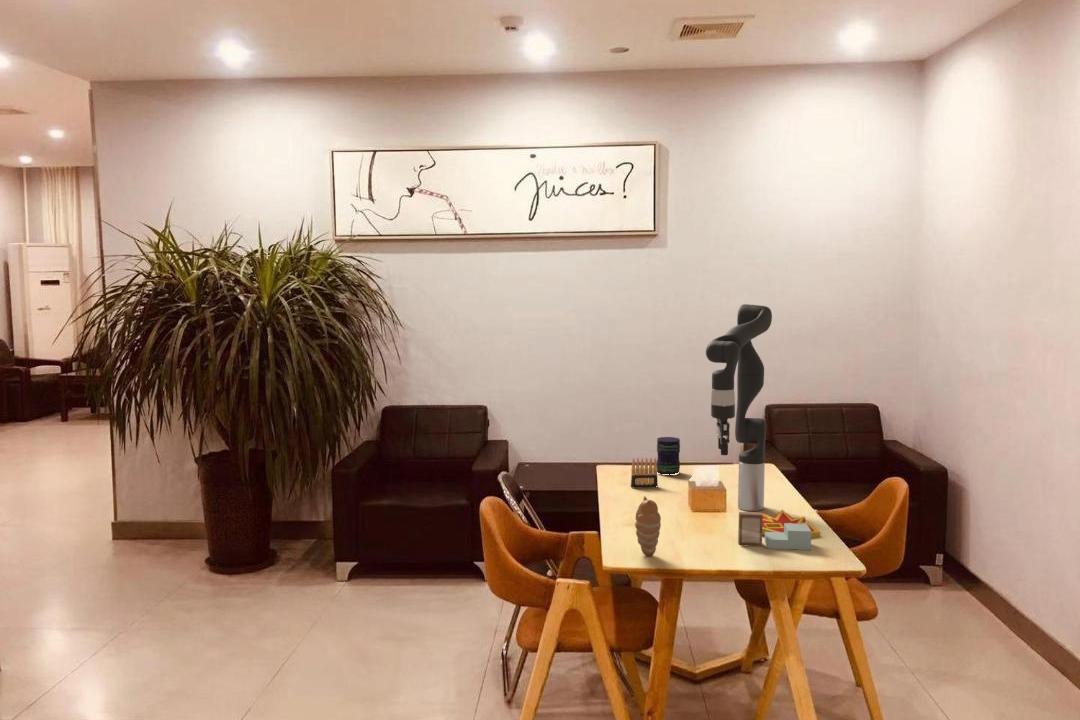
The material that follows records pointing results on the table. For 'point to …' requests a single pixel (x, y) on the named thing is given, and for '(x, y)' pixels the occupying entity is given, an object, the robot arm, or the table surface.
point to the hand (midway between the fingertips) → (723, 451)
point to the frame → (750, 528)
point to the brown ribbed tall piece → (648, 526)
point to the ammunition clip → (644, 474)
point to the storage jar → (668, 455)
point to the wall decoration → (778, 523)
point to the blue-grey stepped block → (790, 537)
